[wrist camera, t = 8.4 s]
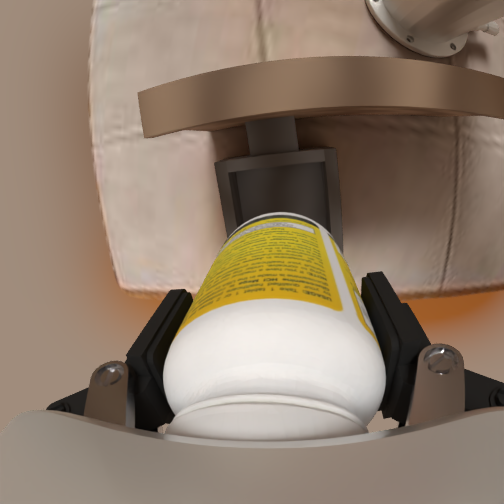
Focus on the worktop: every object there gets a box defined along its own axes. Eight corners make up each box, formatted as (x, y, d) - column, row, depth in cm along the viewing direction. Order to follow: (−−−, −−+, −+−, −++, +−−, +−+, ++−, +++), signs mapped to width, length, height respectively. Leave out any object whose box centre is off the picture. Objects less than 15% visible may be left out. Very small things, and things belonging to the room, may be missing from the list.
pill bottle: (198, 280, 15) (96, 469, 5) (265, 182, 13) (182, 363, 3) (292, 338, 16) (284, 531, 6) (367, 258, 14) (461, 464, 3)
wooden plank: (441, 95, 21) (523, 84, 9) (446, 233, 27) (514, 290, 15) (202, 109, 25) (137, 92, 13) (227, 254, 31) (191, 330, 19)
